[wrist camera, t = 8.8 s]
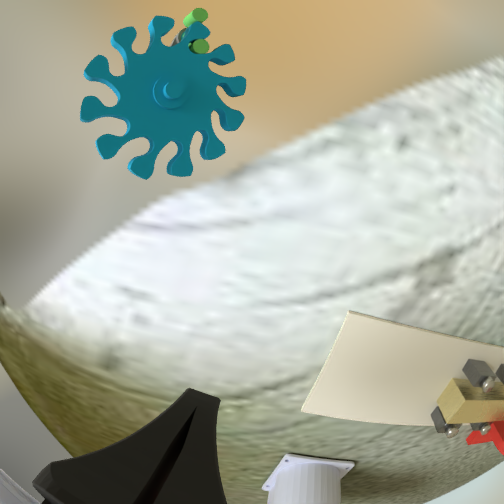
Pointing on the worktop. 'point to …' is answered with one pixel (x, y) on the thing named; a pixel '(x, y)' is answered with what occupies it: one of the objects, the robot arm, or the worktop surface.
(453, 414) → the sanding block
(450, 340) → the mat
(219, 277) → the worktop surface
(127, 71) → the gear
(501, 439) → the bracket
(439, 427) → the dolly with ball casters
